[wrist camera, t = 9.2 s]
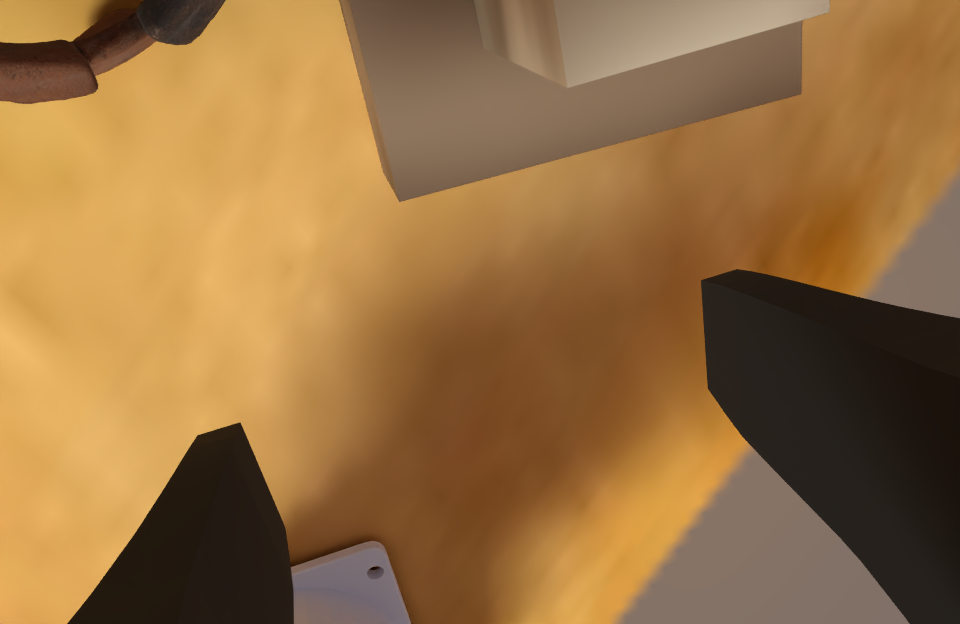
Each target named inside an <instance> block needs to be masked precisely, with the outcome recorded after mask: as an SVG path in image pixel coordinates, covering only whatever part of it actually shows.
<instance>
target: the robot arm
mask: <svg viewBox="0 0 960 624" xmlns="http://www.w3.org/2000/svg"><path fill="white" fill-rule="evenodd" d="M701 287H702V303H703V319H704V334H705V350H706V366H707V382H708V389H709V391H710V392H711V394H712V395H713V396H714V398H715V399H716V401H717V402H718V404H719V405H720V407H721V408H722V409H723V411H724V412H725V414H726V415H727V417H728V418H729V419H730V421H731V422H732V423H733V425H734V426H735V427H736V429H737V430H738V431H739V433H740V434H741V435H742V437H743V438H744V439H745V440H746V441H747V442H748V443H749V444H750V445H751V446H752V447H753V448H754V449H755V450H756V451H757V452H758V454H759V455H760V456H761V457H762V458H763V459H764V460H765V461H766V462H767V463H768V464H769V465H770V466H771V467H772V468H773V469H774V470H775V471H776V472H777V473H778V474H779V476H781V478H782V479H783V480H784V481H785V482H786V483H787V484H788V485H789V486H790V487H791V488H792V489H793V490H794V491H795V492H796V493H797V494H798V495H799V496H800V497H801V498H802V499H803V500H804V501H805V502H806V503H807V504H808V505H809V506H810V507H811V508H812V509H813V510H814V511H815V512H816V513H817V514H818V515H819V517H821V518H822V520H823V521H824V522H825V523H826V524H827V525H828V526H829V527H830V528H831V529H832V530H833V531H834V532H835V533H836V534H837V535H838V536H839V537H840V538H841V539H842V540H843V542H844V543H845V544H846V545H847V546H848V547H849V548H850V549H851V551H852V552H853V553H854V554H855V555H856V556H857V557H858V558H859V559H860V560H861V562H862V563H863V564H864V566H865V567H866V568H867V569H868V571H869V572H870V573H871V575H873V577H874V578H875V580H876V581H877V582H878V583H879V585H880V586H881V587H882V588H883V590H884V591H885V592H886V593H887V595H888V596H889V597H890V599H891V600H892V601H893V602H894V604H895V605H896V606H897V608H898V609H899V610H900V611H901V613H902V614H903V615H904V616H905V618H906V619H907V621H908V622H909V623H910V624H960V318H955V317H949V316H944V315H938V314H934V313H929V312H924V311H919V310H914V309H909V308H904V307H899V306H895V305H890V304H885V303H881V302H877V301H872V300H868V299H864V298H860V297H856V296H852V295H848V294H844V293H839V292H836V291H832V290H828V289H824V288H820V287H816V286H812V285H808V284H804V283H800V282H796V281H792V280H788V279H784V278H780V277H775V276H771V275H767V274H762V273H757V272H752V271H745V270H738V269H736V270H733V271H730V272H727V273H723V274H720V275H717V276H714V277H710V278H707V279H704V280H701ZM375 566H379V567H380V568H378V569H376V570H369V569H370V568H372V567H375ZM67 624H411V621H410V618H409V615H408V612H407V609H406V606H405V603H404V601H403V598H402V595H401V592H400V589H399V586H398V583H397V580H396V578H395V575H394V572H393V569H392V566H391V563H390V560H389V557H388V555H387V552H386V549H385V547H384V546H383V544H381V543H379V542H376V541H369V542H364V543H361V544H358V545H355V546H352V547H349V548H346V549H343V550H340V551H338V552H335V553H332V554H329V555H326V556H323V557H320V558H317V559H314V560H311V561H308V562H305V563H302V564H299V565H296V566H293V567H291V565H290V557H289V550H288V543H287V537H286V530H285V526H284V524H283V521H282V519H281V517H280V514H279V512H278V510H277V507H276V505H275V502H274V500H273V498H272V495H271V493H270V491H269V488H268V486H267V484H266V481H265V479H264V477H263V474H262V472H261V470H260V467H259V465H258V463H257V460H256V458H255V456H254V453H253V451H252V449H251V446H250V444H249V441H248V439H247V437H246V434H245V432H244V430H243V427H242V425H241V423H236V424H233V425H230V426H227V427H223V428H220V429H217V430H214V431H210V432H207V433H204V434H201V435H198V436H197V437H196V439H195V440H194V442H193V443H192V445H191V446H190V448H189V449H188V451H187V453H186V454H185V456H184V457H183V459H182V461H181V462H180V464H179V466H178V467H177V469H176V470H175V472H174V474H173V475H172V477H171V478H170V480H169V482H168V483H167V485H166V487H165V488H164V490H163V491H162V493H161V494H160V496H159V497H158V499H157V501H156V502H155V504H154V505H153V507H152V508H151V510H150V511H149V513H148V514H147V516H146V518H145V519H144V521H143V522H142V524H141V525H140V527H139V528H138V530H137V531H136V533H135V534H134V536H133V537H132V539H131V540H130V541H129V543H128V544H127V545H126V547H125V548H124V550H123V551H122V552H121V554H120V555H119V556H118V558H117V559H116V561H115V562H114V563H113V565H112V566H111V568H110V569H109V570H108V572H107V573H106V574H105V576H104V577H103V579H102V580H101V581H100V583H99V584H98V585H97V587H96V588H95V590H94V591H93V592H92V594H91V595H90V596H89V597H88V599H87V600H86V601H85V602H84V604H83V605H82V606H81V608H80V609H79V610H78V611H77V612H76V614H75V615H74V616H73V617H72V619H71V620H70V621H69V622H68V623H67Z"/></svg>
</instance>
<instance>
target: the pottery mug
mask: <svg viewBox="0 0 960 624" xmlns="http://www.w3.org/2000/svg"><path fill="white" fill-rule="evenodd" d="M224 2H225V0H143V1H142V2H141V3H140V5H139V7H138V8H137V9H119V10H116V11H114V12H112V13H109V14H107V15H106V16H105V17H103V18H102V19H101V20H100V21H98V22H97V23H96V24H94V25H93V26H91V27H90V28H89V29H87V30H86V31H85V32H84V33H82V34H81V35H80V36H79V37H77V38H76V39H75V40H74V41H72V42H68V41H66V40H56V41H49V42H39V43H3V42H0V101H10V102H14V103H21V104H33V103H38V102H47V101H55V100H66V99H70V98H77V97H81V96H86V95H88V94H92V93H94V92H96V90H97V89H98V83H97V80H96V77H95V76H96V75H99V74H102V73H104V72H107V71H110V70H111V69H113V68H114V67H117V66H119V65H120V64H122V63H124V62H126V61H128V60H130V59H131V58H133V57H135V56H136V55H138V54H139V53H141V52H142V51H144V50H145V49H146V48H148V47H149V46H151V45H152V44H153V43H154V42H156V41H159V42H163V43H166V44H173V45H186V44H189V43H191V42H192V41H193V40H194V39H196V38H197V37H198V36H200V34H201V33H202V32H203V30H204V29H205V28H206V27H207V25H208V24H209V22H210V21H211V20H212V19H213V18H214V17H215V15H216V14H217V12H218V11H219V9H220V8H221V6H222V5H223V3H224Z"/></svg>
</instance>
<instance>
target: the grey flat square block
mask: <svg viewBox="0 0 960 624" xmlns="http://www.w3.org/2000/svg"><path fill="white" fill-rule="evenodd" d="M339 1H340V5H341V9H342V13H343V17H344V21H345V25H346V29H347V33H348V37H349V40H350V44H351V48H352V52H353V56H354V60H355V64H356V68H357V72H358V76H359V80H360V83H361V87H362V91H363V95H364V99H365V103H366V107H367V111H368V115H369V119H370V123H371V126H372V130H373V134H374V138H375V142H376V146H377V150H378V154H379V158H380V162H381V166H382V169H383V173H384V174H385V176H386V178H387V180H388V182H389V184H390V185H391V187H392V189H393V191H394V193H395V195H396V196H397V198H398V200H399V202H401V201H405V200H408V199H412V198H416V197H420V196H423V195H427V194H431V193H434V192H438V191H442V190H446V189H449V188H453V187H457V186H461V185H464V184H468V183H472V182H475V181H479V180H483V179H487V178H490V177H494V176H498V175H502V174H505V173H509V172H513V171H516V170H520V169H524V168H528V167H531V166H535V165H539V164H543V163H546V162H550V161H554V160H557V159H561V158H565V157H569V156H572V155H576V154H580V153H584V152H587V151H591V150H595V149H598V148H602V147H606V146H610V145H613V144H617V143H621V142H625V141H628V140H632V139H636V138H639V137H643V136H647V135H651V134H654V133H658V132H662V131H666V130H669V129H673V128H677V127H680V126H684V125H688V124H692V123H695V122H699V121H703V120H707V119H710V118H714V117H718V116H722V115H725V114H729V113H733V112H736V111H740V110H744V109H748V108H751V107H755V106H759V105H763V104H766V103H770V102H774V101H777V100H781V99H785V98H789V97H792V96H796V95H800V94H801V74H802V21H798V22H795V23H791V24H788V25H784V26H781V27H777V28H774V29H770V30H767V31H763V32H760V33H757V34H753V35H750V36H746V37H743V38H739V39H736V40H732V41H729V42H725V43H722V44H719V45H715V46H712V47H708V48H705V49H701V50H698V51H694V52H691V53H687V54H684V55H680V56H677V57H674V58H670V59H667V60H663V61H660V62H656V63H653V64H649V65H646V66H642V67H639V68H635V69H632V70H629V71H625V72H622V73H618V74H615V75H611V76H608V77H604V78H601V79H597V80H594V81H590V82H587V83H584V84H580V85H577V86H573V87H570V88H566V87H564V86H562V85H560V84H558V83H556V82H554V81H552V80H549V79H547V78H545V77H543V76H541V75H539V74H537V73H534V72H532V71H530V70H528V69H526V68H524V67H522V66H520V65H517V64H515V63H513V62H511V61H509V60H507V59H505V58H503V57H500V56H498V55H496V54H494V53H492V52H490V51H488V50H485V49H484V47H483V42H482V37H481V32H480V27H479V23H478V18H477V13H476V8H475V3H474V0H339Z"/></svg>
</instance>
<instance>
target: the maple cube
mask: <svg viewBox="0 0 960 624" xmlns="http://www.w3.org/2000/svg"><path fill="white" fill-rule="evenodd" d="M474 3H475V8H476V13H477V18H478V23H479V27H480V32H481V37H482V42H483V47H484V49H485V50H488V51H490V52H492V53H494V54H496V55H498V56H500V57H503V58H505V59H507V60H509V61H511V62H513V63H515V64H517V65H520V66H522V67H524V68H526V69H528V70H530V71H532V72H534V73H537V74H539V75H541V76H543V77H545V78H547V79H549V80H552V81H554V82H556V83H558V84H560V85H562V86H564V87H566V88H570V87H573V86H577V85H580V84H584V83H587V82H590V81H594V80H597V79H601V78H604V77H608V76H611V75H615V74H618V73H622V72H625V71H629V70H632V69H635V68H639V67H642V66H646V65H649V64H653V63H656V62H660V61H663V60H667V59H670V58H674V57H677V56H680V55H684V54H687V53H691V52H694V51H698V50H701V49H705V48H708V47H712V46H715V45H719V44H722V43H725V42H729V41H732V40H736V39H739V38H743V37H746V36H750V35H753V34H757V33H760V32H763V31H767V30H770V29H774V28H777V27H781V26H784V25H788V24H791V23H795V22H798V21H802V20H805V19H808V18H812V17H815V16H819V15H822V14H826V13H829V12H830V0H474Z"/></svg>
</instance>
